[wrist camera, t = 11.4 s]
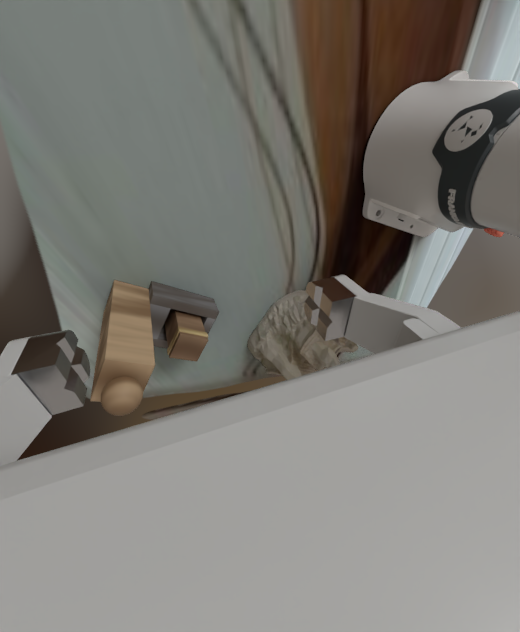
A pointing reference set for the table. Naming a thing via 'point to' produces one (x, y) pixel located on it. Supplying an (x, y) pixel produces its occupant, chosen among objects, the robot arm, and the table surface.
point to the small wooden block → (185, 335)
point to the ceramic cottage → (293, 340)
